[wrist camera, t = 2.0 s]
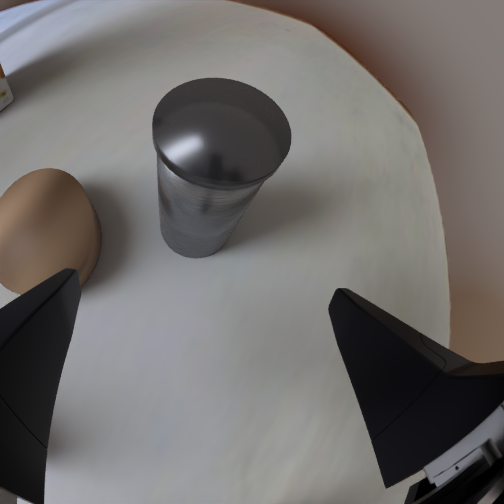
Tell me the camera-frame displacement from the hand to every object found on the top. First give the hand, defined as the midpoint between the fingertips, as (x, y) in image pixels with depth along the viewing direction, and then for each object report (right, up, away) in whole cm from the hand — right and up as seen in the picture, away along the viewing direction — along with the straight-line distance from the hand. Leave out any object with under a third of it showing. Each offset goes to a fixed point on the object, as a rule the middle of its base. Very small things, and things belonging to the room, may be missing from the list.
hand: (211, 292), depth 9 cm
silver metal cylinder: (-4, +4, +15) cm, 15 cm away
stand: (-16, +2, +10) cm, 19 cm away
